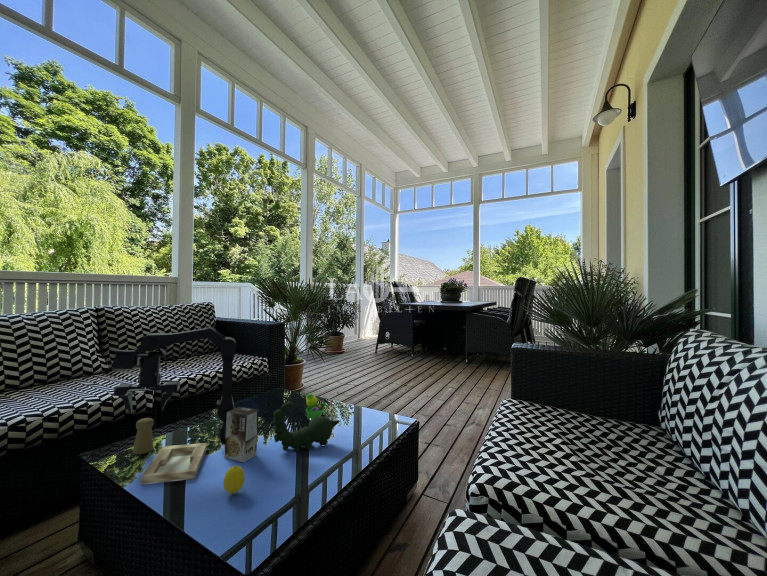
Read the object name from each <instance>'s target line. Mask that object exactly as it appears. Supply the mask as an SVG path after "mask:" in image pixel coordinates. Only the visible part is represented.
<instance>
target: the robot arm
mask: <svg viewBox="0 0 767 576" xmlns="http://www.w3.org/2000/svg"><path fill="white" fill-rule="evenodd" d="M205 339H207V340H209V341H210V342H211V343H213V344H215V346H218V347H219V350H220V357H221V360H222V375H221V376H222V378H221V379H222V380H221V381H222V384H221V386H222V387H221V398H220V399H217V400H216V414H215V415H216V416H218V420H219V421H220V422H222V424H221V426H220V430H219V439H220V441H219V442H220V443H225V439H226V421H227V412H228V411H231V410H233V409H235V404H234V398H233V372H234V371H233V368H234V367H233V366H234V365H233V364H234V358H235V354H236V350H237V343H236V342H237V341H236V340H235V338H233V337H231V336H225V335H224V334H222V333H220V332H219V331H218V330H216V329H214V328H213V327H209V326H208V327H206V328H205V327H204V328H201V329H200V328H199V329H195V330H186V331H180V332H172V333H168V332H167V333H166V332H165V333H164V332H159V333H158V332H153V333H149V334H146V335H145V336H143V338H142V339H141V340H140V345H139V346H138V347H137V348H135V350H133V349H132V350H129V349H128V350H123V349H118V350H116V351H115V355H114V357H113V358H114V359H113V360H112V370H113V371H122V370H123V371H125V370H126V371H127V370H128V371H129V370H135V368H136V367H139V372H138V377H137V381H138V385H133V383H120V384H118V385H117V386H116V387H115V388H114V389H113V395H112V396H113V397H117V398H118V399H121V400H122V402H123V404H125V405H124V406H125V407H126V409H127V410H128V413H129V414H130V415H131V414H133V394H134V392H135V393H136V392H151V391H153V392H154V391H163V394H162V397H161V398H162V399H161V406H160V412H163V411H164V408H165V406H166V403H167V402H168V399H169V397H170V396H172V395H174V393H177V392H179V390H180V381H167V382H166V383H165V384H161V380H162V374H161V373H160V363H161V357H166V356H167V354H168V353H167V352H165V350H164V349H163V348H165V347H168V346H170V345H175V344H181V343H187V342H193V341H200V340H205ZM158 349H159V351H156V350H158ZM145 352H148V353H145Z"/></svg>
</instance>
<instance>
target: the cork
mask: <svg viewBox="0 0 767 576" xmlns="http://www.w3.org/2000/svg"><path fill="white" fill-rule="evenodd" d="M154 424H155V420H154V418H151V417H144V418H141V419H138V420H137V421H136V424H135V428H136V430H137V431H136V435H135V440H134V443H133V448H132V452H131V453H132V454H133V453H134V455H143V454H148V453H150V452H152V451H153V450H154V442H153V441H154V439H153V426H154Z"/></svg>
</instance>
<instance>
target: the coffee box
mask: <svg viewBox="0 0 767 576" xmlns="http://www.w3.org/2000/svg"><path fill="white" fill-rule="evenodd" d="M259 415H260V409H256V408H250V407H245V406H237V407H234V409H233V410H231V411H228V412H227V421H226V439H225V442H224V443H225V444H224V458H225V459H229V460H232V461H237V462H239V463H240V462H241V463H246V462H247V461H249V460H251V459H253V458H254V457H256V456H257V451H258V431H259V417H260V416H259Z"/></svg>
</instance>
